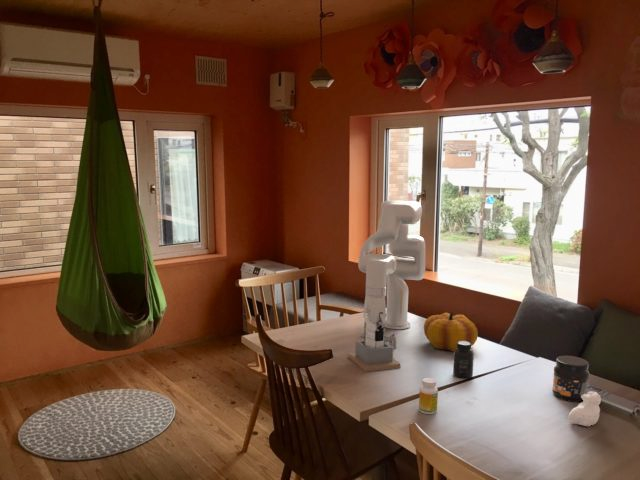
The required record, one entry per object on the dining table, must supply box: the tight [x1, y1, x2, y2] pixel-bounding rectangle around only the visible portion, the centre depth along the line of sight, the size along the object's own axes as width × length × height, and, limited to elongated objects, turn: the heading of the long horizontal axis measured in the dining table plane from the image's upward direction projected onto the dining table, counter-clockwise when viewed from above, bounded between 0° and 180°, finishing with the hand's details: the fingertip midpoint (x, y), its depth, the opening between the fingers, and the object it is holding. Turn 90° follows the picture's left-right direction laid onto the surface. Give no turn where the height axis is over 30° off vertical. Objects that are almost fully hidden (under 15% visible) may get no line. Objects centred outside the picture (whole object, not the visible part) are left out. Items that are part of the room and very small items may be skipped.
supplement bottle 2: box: [452, 341, 475, 380], centre depth 195 cm, size 7×7×12 cm
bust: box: [567, 390, 602, 427], centre depth 160 cm, size 12×8×11 cm
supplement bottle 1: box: [418, 377, 439, 415], centre depth 167 cm, size 5×5×10 cm
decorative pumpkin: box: [423, 311, 479, 353], centre depth 225 cm, size 20×22×15 cm
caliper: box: [360, 333, 397, 350], centre depth 229 cm, size 20×1×6 cm, turn 38°
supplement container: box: [552, 355, 590, 402], centre depth 179 cm, size 10×10×12 cm
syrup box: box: [363, 312, 386, 349], centre depth 206 cm, size 6×6×14 cm
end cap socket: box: [348, 339, 401, 373], centre depth 207 cm, size 16×14×7 cm
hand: (374, 337), depth 206 cm, fingers closed on syrup box, 7 cm apart
